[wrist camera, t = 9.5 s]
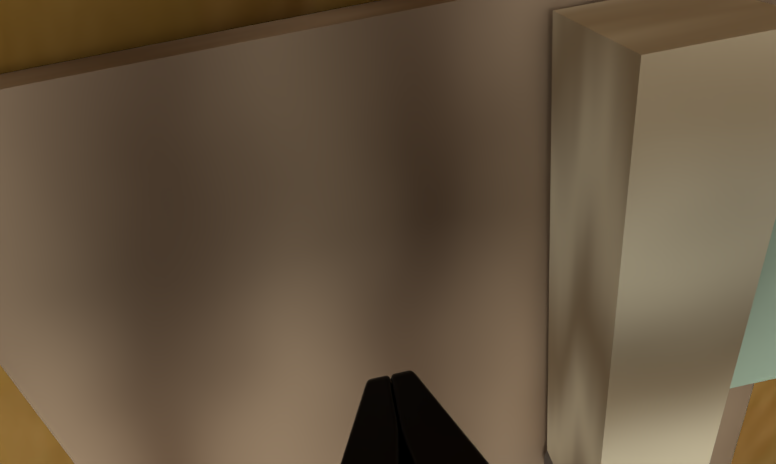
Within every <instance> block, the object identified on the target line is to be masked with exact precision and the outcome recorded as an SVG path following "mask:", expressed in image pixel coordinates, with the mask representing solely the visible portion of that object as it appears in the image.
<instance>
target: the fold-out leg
mask: <svg viewBox="0 0 776 464" xmlns="http://www.w3.org/2000/svg"><path fill="white" fill-rule="evenodd" d="M775 219H776V5H773V4H769V3H765V2H761V1H757V0H607V1H601V2H596V3H590V4H585V5H580V6H574V7H569V8H564V9H558V10H553V30H552V106H551V183H550V259H549V336H548V412H547V451H546V453H545V457H544V464H709V463H710V459H711V456H712V452H713V448H714V445H715V441H716V437H717V434H718V430H719V426H720V422H721V419H722V415H723V411H724V408H725V404H726V400H727V397H728V393H729V389H730V385H731V382H732V378H733V374H734V371H735V367H736V363H737V360H738V356H739V352H740V348H741V345H742V341H743V337H744V334H745V330H746V326H747V323H748V319H749V315H750V311H751V308H752V304H753V300H754V297H755V293H756V289H757V286H758V282H759V278H760V274H761V271H762V267H763V263H764V260H765V256H766V252H767V249H768V245H769V241H770V238H771V234H772V230H773V226H774V223H775Z"/></svg>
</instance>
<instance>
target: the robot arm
mask: <svg viewBox="0 0 776 464" xmlns="http://www.w3.org/2000/svg"><path fill="white" fill-rule="evenodd" d="M341 464H489V463H488V462H487V460H486V459H485V458H484V457H483V455H482V454H481V453H480V452H479V451H478V449H477V448H476V447H475V446H474V444H473V443H472V442H471V441H470V440H469V438H468V437H467V436H466V435H465V433H464V432H463V431H462V430H461V429H460V427H459V426H458V425H457V424H456V422H455V421H454V420H453V419H452V418H451V416H450V415H449V414H448V413H447V411H446V410H445V409H444V408H443V407H442V405H441V404H440V403H439V402H438V400H437V399H436V398H435V397H434V396H433V394H432V393H431V392H430V391H429V389H428V388H427V387H426V386H425V385H424V383H423V382H422V381H421V380H420V378H419V377H418V376H417V375H416V374H415V373H414V372H413V371H411V370H409V371H404V372H400V373H395V374H393V375H392V376H391V379H390V377H389V376H381V377H377V378H372V379H369V380H368V381H367V382H366V385H365V388H364V391H363V394H362V397H361V401H360V404H359V407H358V410H357V413H356V416H355V420H354V423H353V426H352V429H351V432H350V435H349V439H348V442H347V445H346V448H345V451H344V454H343V458H342V461H341Z"/></svg>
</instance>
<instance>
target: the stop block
mask: <svg viewBox="0 0 776 464" xmlns="http://www.w3.org/2000/svg"><path fill="white" fill-rule="evenodd" d="M775 378H776V219H775V223H774V226H773V230H772V234H771V238H770V241H769V245H768V249H767V252H766V256H765V260H764V263H763V267H762V271H761V274H760V278H759V282H758V286H757V289H756V293H755V297H754V300H753V304H752V308H751V311H750V315H749V319H748V323H747V326H746V330H745V334H744V337H743V341H742V345H741V348H740V352H739V356H738V360H737V363H736V367H735V371H734V374H733V378H732V382H731V385H730V388H734V387H739V386H743V385H748V384H752V383H757V382H761V381H766V380H770V379H775Z"/></svg>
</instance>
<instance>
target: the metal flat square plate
mask: <svg viewBox="0 0 776 464" xmlns="http://www.w3.org/2000/svg"><path fill="white" fill-rule="evenodd" d="M601 1H607V0H380V1H374V2H369V3H364V4H359V5H354V6H349V7H344V8H338V9H333V10H328V11H323V12H318V13H313V14H308V15H302V16H297V17H292V18H287V19H282V20H277V21H271V22H266V23H261V24H256V25H251V26H246V27H241V28H235V29H230V30H225V31H220V32H215V33H210V34H204V35H199V36H194V37H189V38H184V39H179V40H174V41H168V42H163V43H158V44H153V45H148V46H143V47H137V48H132V49H127V50H122V51H117V52H112V53H107V54H101V55H96V56H91V57H86V58H81V59H76V60H70V61H65V62H60V63H55V64H50V65H45V66H40V67H34V68H29V69H24V70H19V71H14V72H9V73H3V74H0V365H1V366H2V368H3V369H4V370H5V372H6V373H7V374H8V376H9V377H10V378H11V380H12V381H13V382H14V384H15V385H16V386H17V388H18V389H19V390H20V392H21V393H22V394H23V396H24V397H25V398H26V400H27V401H28V402H29V404H30V405H31V406H32V408H33V409H34V410H35V412H36V413H37V414H38V416H39V417H40V418H41V420H42V421H43V422H44V424H45V425H46V426H47V428H48V429H49V430H50V432H51V433H52V434H53V436H54V437H55V438H56V440H57V441H58V442H59V444H60V445H61V446H62V447H63V449H64V450H65V451H66V453H67V454H68V455H69V457H70V458H71V459H72V461H73V462H74V463H75V464H341V461H342V458H343V454H344V451H345V448H346V445H347V442H348V439H349V435H350V432H351V429H352V426H353V423H354V420H355V416H356V413H357V410H358V407H359V404H360V401H361V397H362V394H363V391H364V388H365V385H366V382H367V381H368V380H369V379H372V378H377V377H381V376H389V377H390V379H391V376H392V375H393V374H395V373H400V372H404V371H409V370H411V371H413V372H414V373H415V374H416V375H417V376H418V377H419V378H420V380H421V381H422V382H423V383H424V385H425V386H426V387H427V388H428V389H429V391H430V392H431V393H432V394H433V396H434V397H435V398H436V399H437V400H438V402H439V403H440V404H441V405H442V407H443V408H444V409H445V410H446V411H447V413H448V414H449V415H450V416H451V418H452V419H453V420H454V421H455V422H456V424H457V425H458V426H459V427H460V429H461V430H462V431H463V432H464V433H465V435H466V436H467V437H468V438H469V440H470V441H471V442H472V443H473V444H474V446H475V447H476V448H477V449H478V451H479V452H480V453H481V454H482V455H483V457H484V458H485V459H486V460H487V462H488V463H489V464H544V457H545V453H546V451H547V412H548V336H549V259H550V183H551V106H552V30H553V10H558V9H564V8H569V7H574V6H580V5H585V4H590V3H596V2H601ZM757 1H761V2H765V3H769V4H773V5H776V0H757ZM753 386H754V383H752V384H748V385H743V386H739V387H734V388H730V389H729V393H728V397H727V400H726V404H725V408H724V411H723V415H722V419H721V422H720V426H719V430H718V434H717V437H716V441H715V445H714V448H713V452H712V456H711V459H710V463H709V464H731V462H732V458H733V455H734V452H735V448H736V445H737V441H738V438H739V434H740V431H741V427H742V424H743V421H744V417H745V414H746V410H747V407H748V403H749V400H750V396H751V393H752V390H753Z"/></svg>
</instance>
